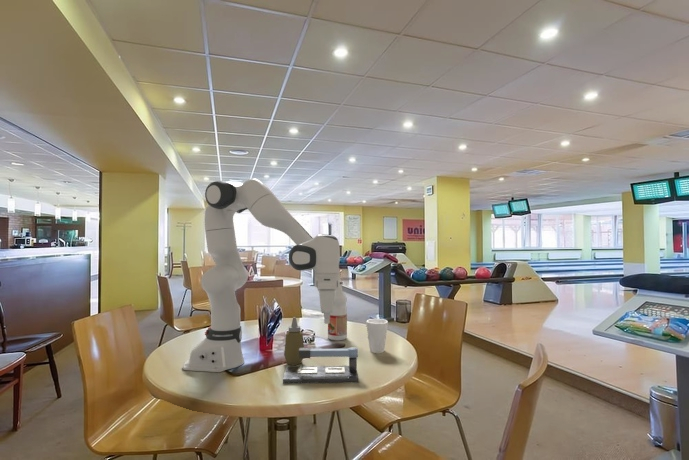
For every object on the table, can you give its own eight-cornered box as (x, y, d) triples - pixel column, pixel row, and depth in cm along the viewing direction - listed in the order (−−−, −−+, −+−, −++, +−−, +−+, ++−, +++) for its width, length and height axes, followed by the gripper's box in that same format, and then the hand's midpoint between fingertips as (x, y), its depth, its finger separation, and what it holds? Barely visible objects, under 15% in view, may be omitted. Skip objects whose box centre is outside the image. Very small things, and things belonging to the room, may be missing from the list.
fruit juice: (345, 341, 174) (346, 282, 174) (326, 340, 175) (326, 282, 175) (347, 335, 183) (347, 280, 183) (329, 335, 184) (329, 280, 184)
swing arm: (357, 354, 134) (357, 347, 134) (358, 357, 130) (358, 350, 130) (299, 355, 133) (299, 347, 133) (298, 358, 129) (298, 350, 129)
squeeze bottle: (308, 361, 146) (308, 316, 146) (297, 367, 139) (297, 320, 139) (291, 358, 149) (291, 314, 150) (279, 364, 142) (280, 318, 142)
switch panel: (282, 383, 124) (282, 365, 124) (286, 370, 136) (286, 353, 136) (358, 382, 125) (358, 364, 125) (355, 369, 137) (355, 353, 137)
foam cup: (386, 355, 154) (386, 324, 154) (365, 353, 156) (365, 323, 156) (388, 348, 163) (388, 319, 163) (368, 346, 165) (368, 318, 165)
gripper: (318, 277, 136) (318, 314, 136) (317, 285, 115) (316, 328, 115) (335, 277, 136) (335, 314, 136) (336, 285, 116) (336, 328, 116)
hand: (327, 320), depth 125 cm, fingers open, 5 cm apart
